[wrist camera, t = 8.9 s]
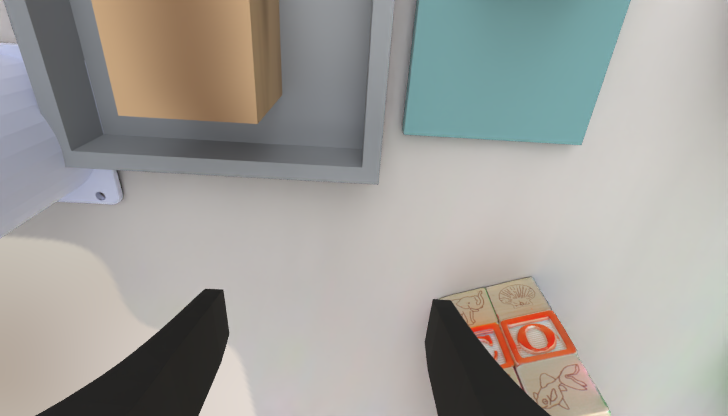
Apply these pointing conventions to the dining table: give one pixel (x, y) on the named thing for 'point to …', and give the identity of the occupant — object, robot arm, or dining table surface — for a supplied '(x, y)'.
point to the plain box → (192, 57)
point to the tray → (222, 139)
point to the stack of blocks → (531, 346)
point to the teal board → (509, 68)
